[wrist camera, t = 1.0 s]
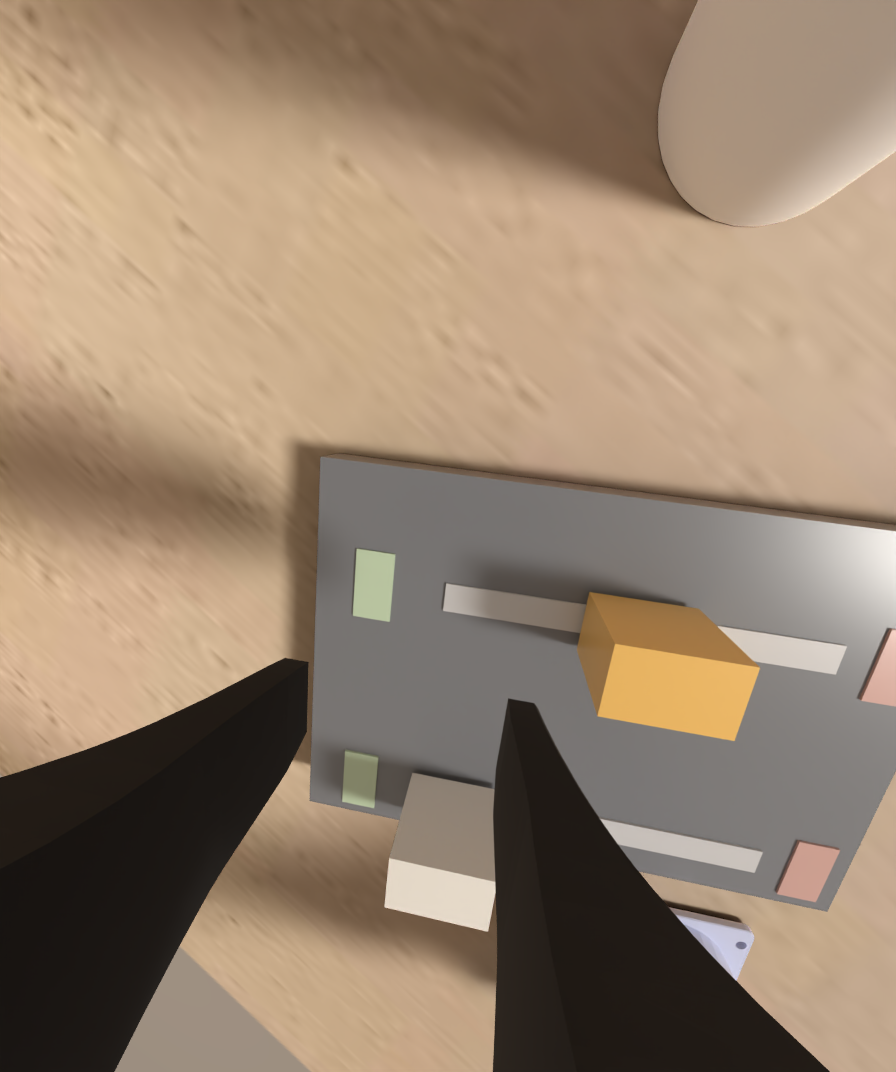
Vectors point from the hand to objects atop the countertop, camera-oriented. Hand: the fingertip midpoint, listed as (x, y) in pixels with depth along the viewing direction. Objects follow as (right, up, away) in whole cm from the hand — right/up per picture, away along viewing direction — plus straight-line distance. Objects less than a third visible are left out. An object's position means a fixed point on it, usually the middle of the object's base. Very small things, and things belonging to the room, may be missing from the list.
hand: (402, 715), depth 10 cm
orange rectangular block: (+8, +1, +6) cm, 10 cm away
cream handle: (+1, -8, +9) cm, 12 cm away
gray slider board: (+7, -2, +9) cm, 12 cm away
